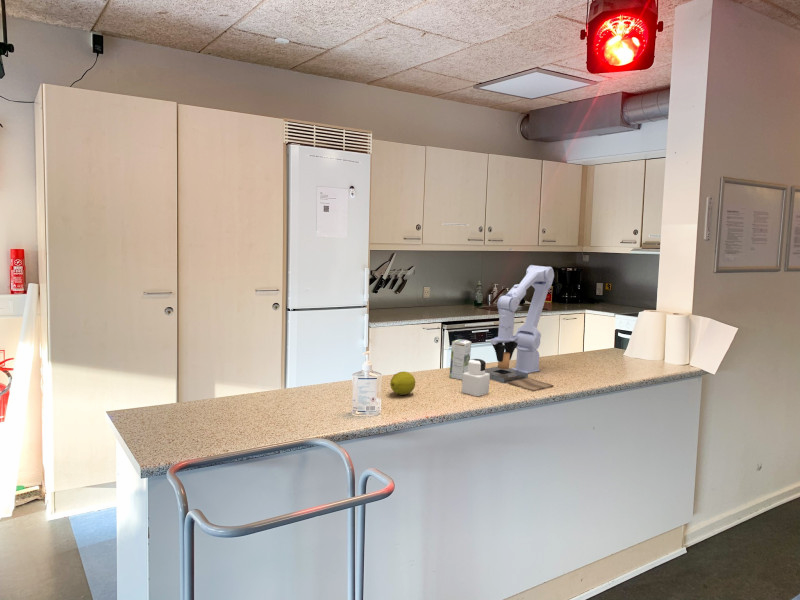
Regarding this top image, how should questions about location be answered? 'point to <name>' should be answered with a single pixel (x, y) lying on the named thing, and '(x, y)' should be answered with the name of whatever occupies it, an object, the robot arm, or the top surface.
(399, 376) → the lemon
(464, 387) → the medicine bottle
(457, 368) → the syrup box
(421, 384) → the top surface
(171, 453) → the top surface
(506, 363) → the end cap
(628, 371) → the top surface
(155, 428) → the top surface
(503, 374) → the socket block
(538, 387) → the walnut board
